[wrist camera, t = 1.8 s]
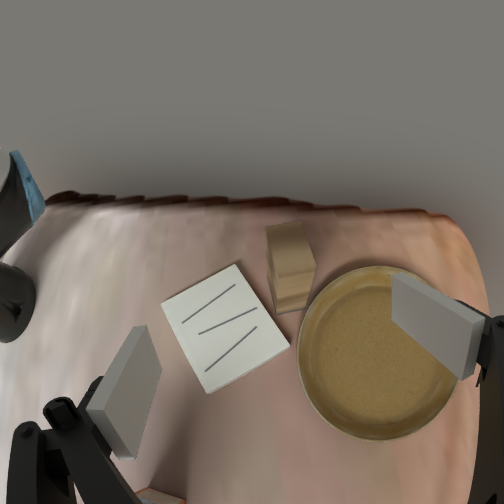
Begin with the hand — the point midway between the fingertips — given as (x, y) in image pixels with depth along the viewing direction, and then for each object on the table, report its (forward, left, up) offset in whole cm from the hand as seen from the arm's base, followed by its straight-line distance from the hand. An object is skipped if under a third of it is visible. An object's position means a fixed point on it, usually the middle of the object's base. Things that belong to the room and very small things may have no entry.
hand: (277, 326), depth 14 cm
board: (-10, -2, -24) cm, 26 cm away
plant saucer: (+6, +14, -24) cm, 29 cm away
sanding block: (-10, +8, -24) cm, 27 cm away
